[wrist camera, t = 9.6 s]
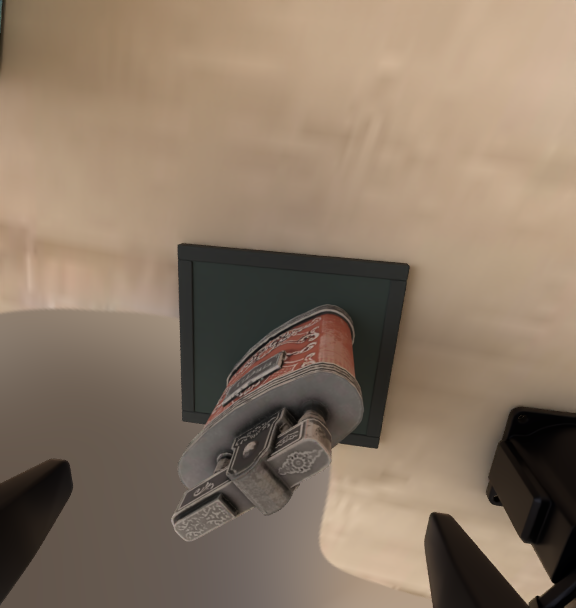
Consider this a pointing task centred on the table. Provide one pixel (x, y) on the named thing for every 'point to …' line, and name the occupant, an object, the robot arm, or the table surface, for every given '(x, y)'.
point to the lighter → (272, 423)
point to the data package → (0, 12)
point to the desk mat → (283, 318)
